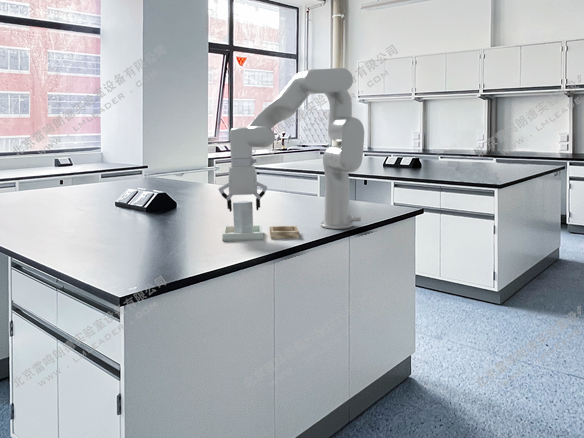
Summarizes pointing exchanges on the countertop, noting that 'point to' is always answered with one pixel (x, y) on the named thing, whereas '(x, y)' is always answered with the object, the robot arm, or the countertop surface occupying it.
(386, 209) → the countertop surface
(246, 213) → the skincare box
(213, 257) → the countertop surface
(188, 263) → the countertop surface
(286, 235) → the wooden square frame
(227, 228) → the tray
